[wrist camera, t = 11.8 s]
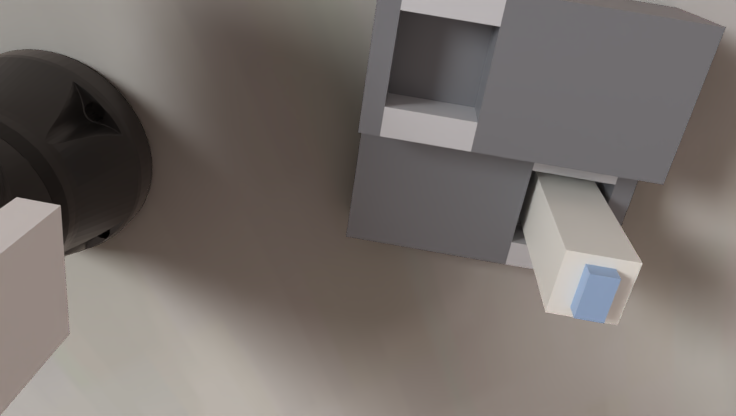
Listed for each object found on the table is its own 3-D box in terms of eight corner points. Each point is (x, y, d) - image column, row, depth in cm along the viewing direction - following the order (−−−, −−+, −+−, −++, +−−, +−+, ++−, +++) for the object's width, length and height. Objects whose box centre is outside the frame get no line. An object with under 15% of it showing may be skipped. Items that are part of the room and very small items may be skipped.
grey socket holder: (352, 214, 46) (339, 262, 40) (390, -40, 38) (381, -30, 32) (589, 255, 46) (613, 310, 40) (677, 7, 38) (725, 27, 32)
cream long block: (518, 215, 45) (548, 323, 33) (532, 164, 43) (570, 259, 31) (573, 224, 44) (622, 336, 33) (590, 174, 43) (648, 273, 31)
